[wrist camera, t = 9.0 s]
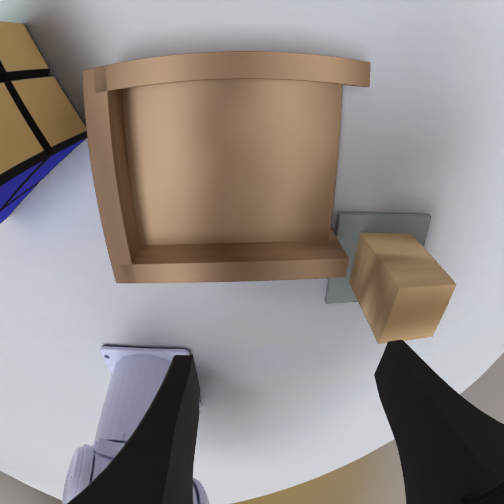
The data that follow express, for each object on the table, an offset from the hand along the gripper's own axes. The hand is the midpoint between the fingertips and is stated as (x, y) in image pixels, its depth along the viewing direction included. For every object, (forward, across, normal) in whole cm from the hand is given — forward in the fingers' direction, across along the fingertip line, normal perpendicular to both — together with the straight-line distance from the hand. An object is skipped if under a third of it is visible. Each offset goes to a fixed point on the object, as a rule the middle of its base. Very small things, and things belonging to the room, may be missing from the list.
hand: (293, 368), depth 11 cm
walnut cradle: (+10, +2, -5) cm, 12 cm away
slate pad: (+10, -8, +2) cm, 13 cm away
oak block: (+10, -8, +2) cm, 13 cm away
